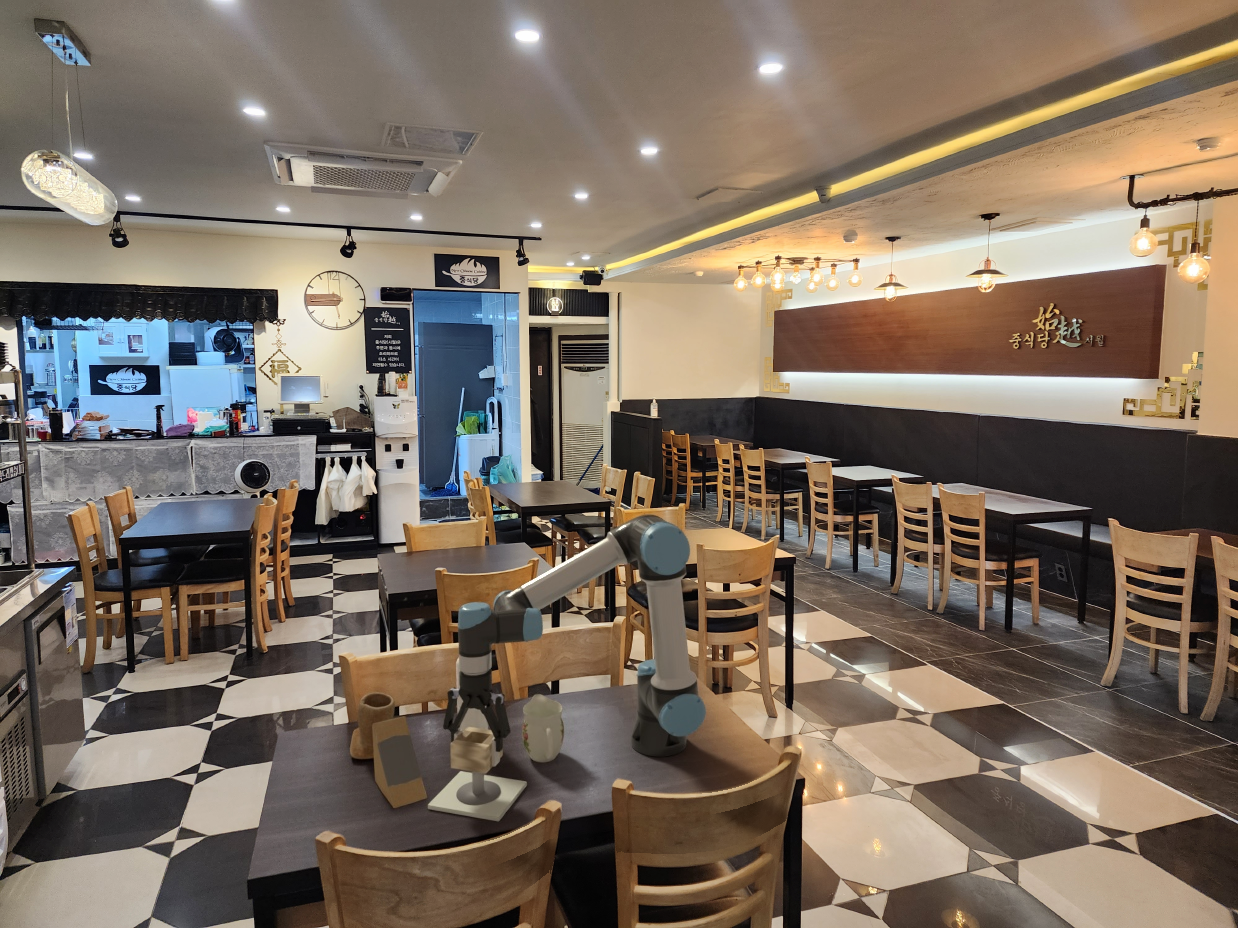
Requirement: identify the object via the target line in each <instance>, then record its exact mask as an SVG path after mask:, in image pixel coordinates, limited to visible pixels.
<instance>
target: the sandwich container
mask: <svg viewBox="0 0 1238 928" xmlns="http://www.w3.org/2000/svg"><path fill="white" fill-rule="evenodd" d="M372 730H373V749H374V758H373V763H374V764H373V765H374V767H373V768H374V781H375V783H376V785H377V786H378V788H379V790H380V791H381V793H382V794H383V795H384V797H385V799H386V800H387V801H388V802H389V804H390V805H391V806H392V808H393V809H396V808H400V807H402V806H404V807H405V806H407V805H410V804H413V803H416V802H419V801H422V800H425V799H428V795H427V792H426V788H425V785H424V781H423V777H422V773H421V771H420V770H421V769H420V767H419V763H418V760H417V756H416V753H415V748H414V746H413V741H412V738H411V733H410V729H409V725H408V721H407V716H405V715H404V716H400V717H393V718H392V719H390V720H386V721H381V722H377V723H373V725H372Z"/></svg>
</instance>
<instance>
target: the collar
mask: <svg viewBox="0 0 1238 928" xmlns="http://www.w3.org/2000/svg"><path fill="white" fill-rule="evenodd" d="M493 738H494V735H493V733H492V731H491V729H488V730H487V729H480V728H474V727H468V728H466V729H465V730H464V731H463V732H462V733H461V734H460V735H459V736H458V737H457V738H456V739H455V740H454V741H452V742H451V741H450V743H449V744H450V746H449V748H450V769H456V770H461V771H466V772H472V771H473V772H479V773H484V775H487V773H488V772H489V771H490V770H491V769H492V768H493V767H494V766H492V739H493ZM503 751H504V750H503V749H502V750H501V751H500V759H501V758H502V757H503Z"/></svg>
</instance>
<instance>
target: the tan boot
mask: <svg viewBox="0 0 1238 928" xmlns="http://www.w3.org/2000/svg"><path fill="white" fill-rule="evenodd" d="M395 704H396V702H395V699H394V698H393V697H392V696H391V695H390V694H387V693H384V692H378V691H377V692H370V693H367V694H365V695H363V696H362V697H361V698H360V700H359V702H358V704H357V706H358V707H357V719H356V720H357V725H358V727H356V728H355V729H354V730H353V732H352V736H351V741H350V747H349V752H350V756H351V757H352V758H353V759H356V760H357V759H358V760H370V759H374V749H373V730H372V725H373V723H377V722H381V721H386V720H390V719H394V716H395V706H396V705H395Z"/></svg>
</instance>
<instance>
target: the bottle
mask: <svg viewBox="0 0 1238 928" xmlns="http://www.w3.org/2000/svg"><path fill="white" fill-rule="evenodd" d="M455 669H456V670H455V672H456V673H455V674H456V675H455V676H456V689H460V685H459V672H460V669H459V657H458V658H457V660H456V662H455ZM462 703H463V700H462V699H461V697H460V695H459V696H458V698H457V704H456V709H457V711H456V712H457V713H458V712H459V710H460V707H461V705H462ZM485 708H486V706H485ZM460 726H461V727H460V728H458V730H459V729H462V732H463V731H464V730H465V729H466V728H468V727H474V728H480V729H487V730H489V725H488V723H487V720H486V718H485V716H484V714H482V713H481V711H480V710H477V709H475V708H472V709H470V708H469V709H468V711H467V713H466V715H465V717H464V719H463V721H462V723H461V725H460Z"/></svg>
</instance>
